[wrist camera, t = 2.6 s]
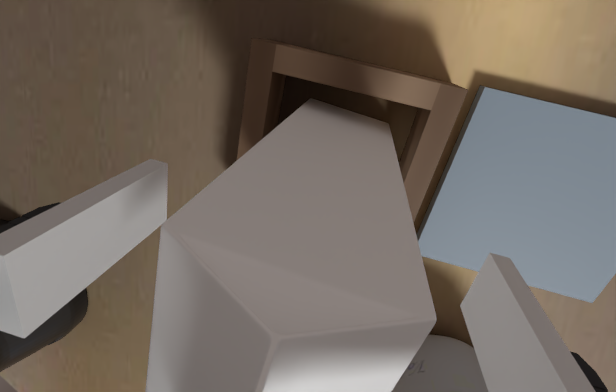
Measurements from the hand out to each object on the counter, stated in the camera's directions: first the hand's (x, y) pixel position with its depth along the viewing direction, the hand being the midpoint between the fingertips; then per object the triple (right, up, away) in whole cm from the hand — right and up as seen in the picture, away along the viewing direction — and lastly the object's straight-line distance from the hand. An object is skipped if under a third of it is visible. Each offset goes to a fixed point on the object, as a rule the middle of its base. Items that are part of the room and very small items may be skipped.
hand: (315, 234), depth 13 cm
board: (+16, +1, +10) cm, 19 cm away
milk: (+2, +5, +12) cm, 13 cm away
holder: (+2, +5, +11) cm, 13 cm away
